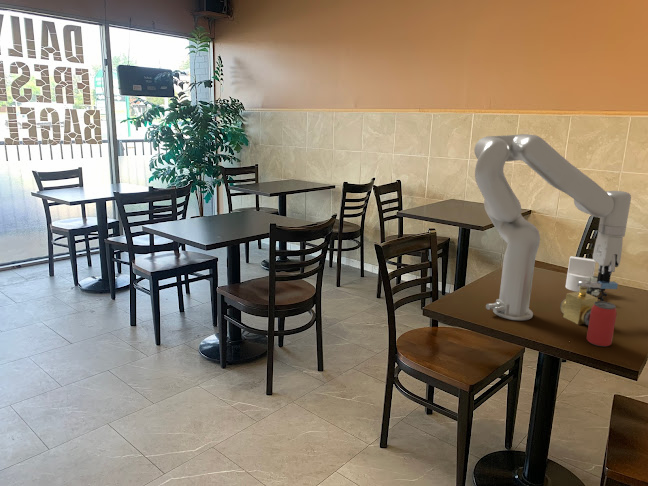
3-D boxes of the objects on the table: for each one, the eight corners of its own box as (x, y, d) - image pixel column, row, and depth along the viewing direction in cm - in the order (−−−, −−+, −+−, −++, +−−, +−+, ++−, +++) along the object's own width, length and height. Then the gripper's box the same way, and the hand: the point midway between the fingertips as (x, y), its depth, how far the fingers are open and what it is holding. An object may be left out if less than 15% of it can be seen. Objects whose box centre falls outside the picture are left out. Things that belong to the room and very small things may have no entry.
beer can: (584, 336, 154) (590, 299, 151) (608, 339, 152) (614, 302, 149) (588, 345, 148) (594, 307, 145) (613, 348, 146) (620, 310, 143)
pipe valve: (600, 325, 162) (606, 292, 159) (584, 328, 160) (590, 294, 157) (572, 311, 173) (577, 280, 170) (557, 313, 171) (561, 282, 168)
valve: (583, 290, 195) (585, 300, 184) (586, 274, 193) (587, 283, 182) (602, 293, 192) (605, 303, 181) (605, 277, 190) (608, 286, 180)
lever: (580, 288, 162) (581, 283, 161) (575, 284, 165) (576, 279, 165) (618, 289, 161) (619, 284, 161) (612, 286, 165) (613, 280, 164)
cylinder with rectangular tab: (564, 289, 195) (568, 259, 192) (566, 283, 203) (570, 254, 200) (590, 294, 191) (595, 263, 188) (591, 287, 198) (596, 257, 195)
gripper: (590, 224, 169) (582, 276, 174) (609, 235, 155) (599, 291, 159) (614, 225, 168) (605, 278, 173) (635, 236, 154) (625, 293, 158)
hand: (602, 284), depth 166 cm, fingers closed
